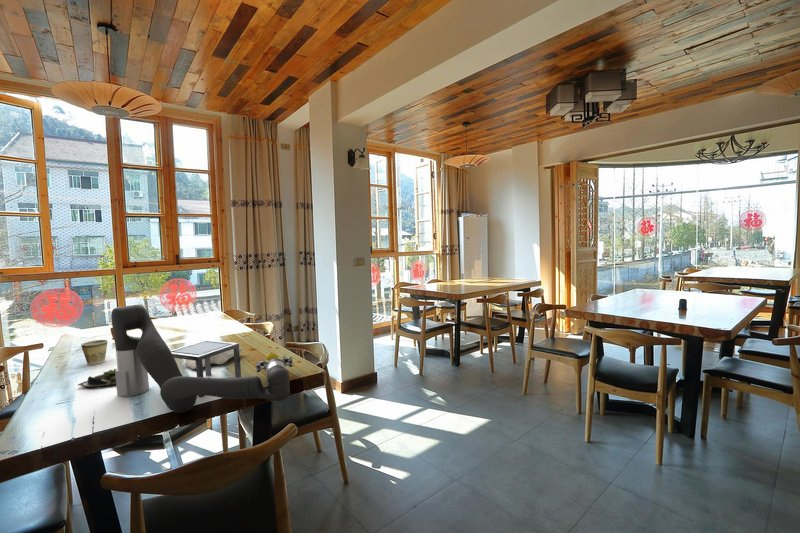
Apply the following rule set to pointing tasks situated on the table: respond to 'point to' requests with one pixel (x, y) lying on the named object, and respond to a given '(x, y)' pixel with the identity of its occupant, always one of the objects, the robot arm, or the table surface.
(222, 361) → the rock
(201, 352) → the trapdoor
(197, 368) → the trapdoor frame
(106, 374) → the salad plate
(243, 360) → the table surface
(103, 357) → the ceramic cup
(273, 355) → the lemon
